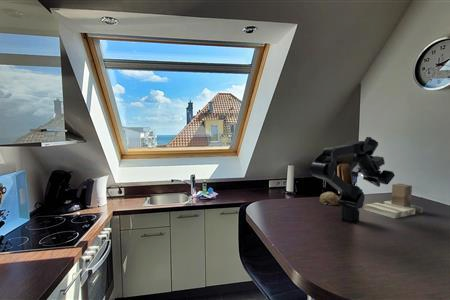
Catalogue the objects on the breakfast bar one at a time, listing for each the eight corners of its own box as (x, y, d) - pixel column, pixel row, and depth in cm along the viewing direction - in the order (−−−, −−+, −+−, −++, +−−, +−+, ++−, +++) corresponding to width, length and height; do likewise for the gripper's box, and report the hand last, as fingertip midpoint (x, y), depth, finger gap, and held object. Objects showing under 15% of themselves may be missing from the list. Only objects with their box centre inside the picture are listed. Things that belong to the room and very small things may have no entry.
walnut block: (403, 206, 132) (404, 186, 132) (391, 203, 138) (392, 184, 137) (410, 205, 135) (412, 185, 134) (398, 202, 140) (399, 183, 140)
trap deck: (394, 218, 122) (394, 213, 122) (364, 209, 136) (364, 204, 135) (422, 212, 132) (422, 207, 132) (391, 204, 145) (392, 200, 145)
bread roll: (318, 209, 148) (317, 197, 144) (321, 198, 156) (320, 186, 152) (338, 212, 143) (338, 200, 140) (339, 200, 151) (339, 188, 147)
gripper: (394, 153, 115) (408, 178, 120) (358, 148, 132) (371, 170, 138) (379, 171, 113) (394, 196, 118) (344, 164, 130) (358, 185, 135)
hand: (378, 186), depth 127 cm, fingers closed
